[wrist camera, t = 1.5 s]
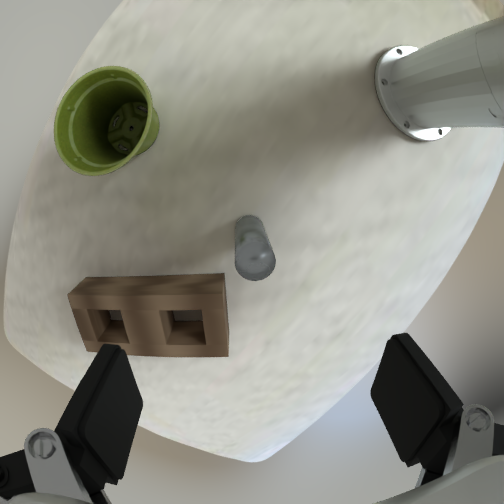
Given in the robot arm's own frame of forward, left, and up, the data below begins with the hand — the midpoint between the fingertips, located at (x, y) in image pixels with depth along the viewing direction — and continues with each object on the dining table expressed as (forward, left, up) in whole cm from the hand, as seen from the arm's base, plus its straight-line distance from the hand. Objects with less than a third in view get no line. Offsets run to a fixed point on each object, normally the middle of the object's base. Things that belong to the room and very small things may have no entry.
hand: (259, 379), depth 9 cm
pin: (-1, +1, -22) cm, 22 cm away
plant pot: (+11, -11, -23) cm, 28 cm away
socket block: (+11, +10, -22) cm, 27 cm away
